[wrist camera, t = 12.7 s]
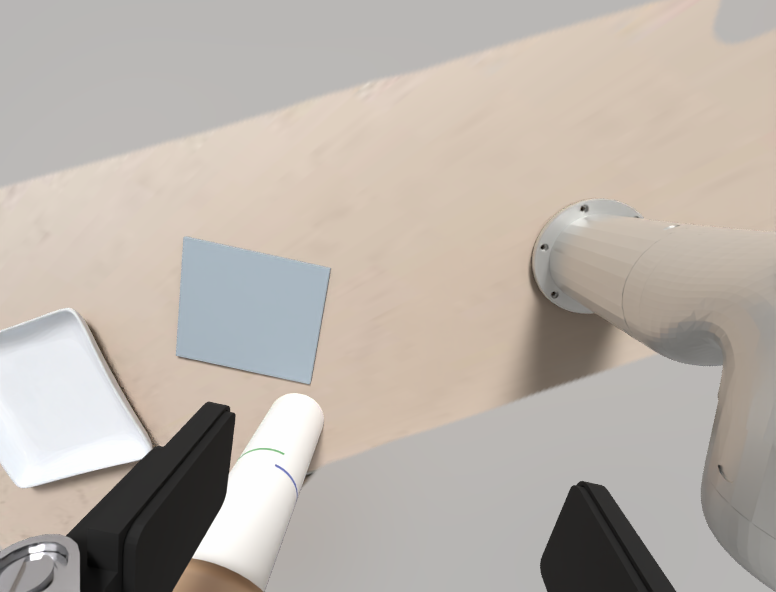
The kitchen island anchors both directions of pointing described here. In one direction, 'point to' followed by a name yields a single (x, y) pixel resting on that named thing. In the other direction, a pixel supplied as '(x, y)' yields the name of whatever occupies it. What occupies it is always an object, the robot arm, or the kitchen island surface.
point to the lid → (212, 579)
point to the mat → (250, 310)
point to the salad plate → (61, 403)
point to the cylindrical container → (264, 490)
